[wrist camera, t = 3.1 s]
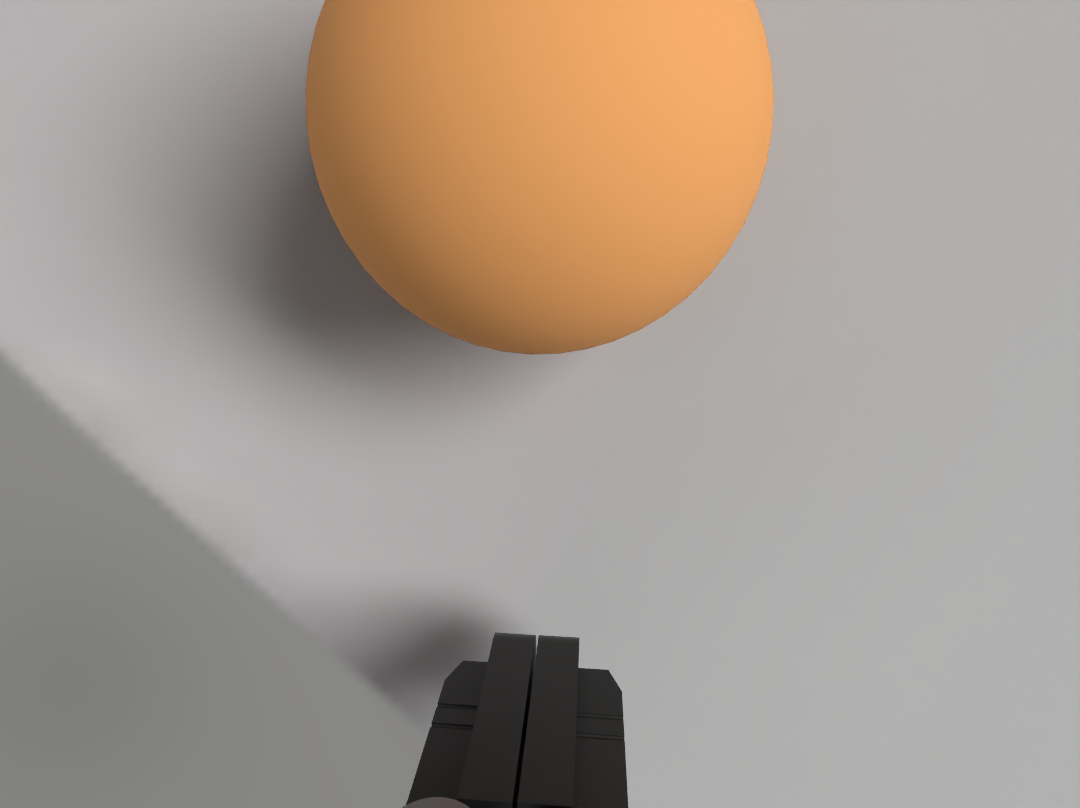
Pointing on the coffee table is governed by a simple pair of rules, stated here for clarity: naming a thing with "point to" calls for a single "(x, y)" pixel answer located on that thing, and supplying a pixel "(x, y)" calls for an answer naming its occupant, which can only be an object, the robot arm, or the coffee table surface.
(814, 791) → the coffee table surface
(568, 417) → the coffee table surface
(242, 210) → the coffee table surface
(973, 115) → the coffee table surface
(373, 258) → the ball
